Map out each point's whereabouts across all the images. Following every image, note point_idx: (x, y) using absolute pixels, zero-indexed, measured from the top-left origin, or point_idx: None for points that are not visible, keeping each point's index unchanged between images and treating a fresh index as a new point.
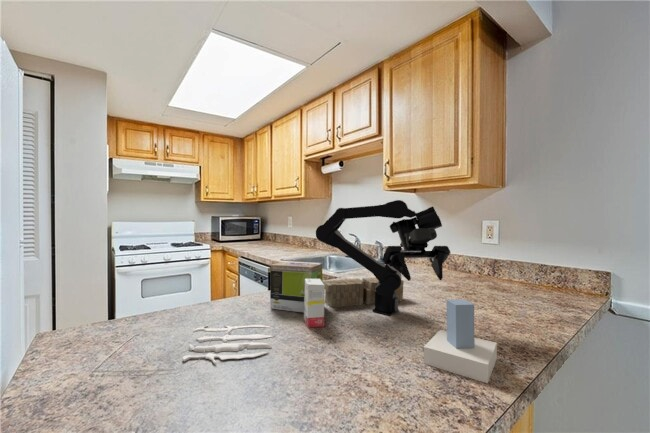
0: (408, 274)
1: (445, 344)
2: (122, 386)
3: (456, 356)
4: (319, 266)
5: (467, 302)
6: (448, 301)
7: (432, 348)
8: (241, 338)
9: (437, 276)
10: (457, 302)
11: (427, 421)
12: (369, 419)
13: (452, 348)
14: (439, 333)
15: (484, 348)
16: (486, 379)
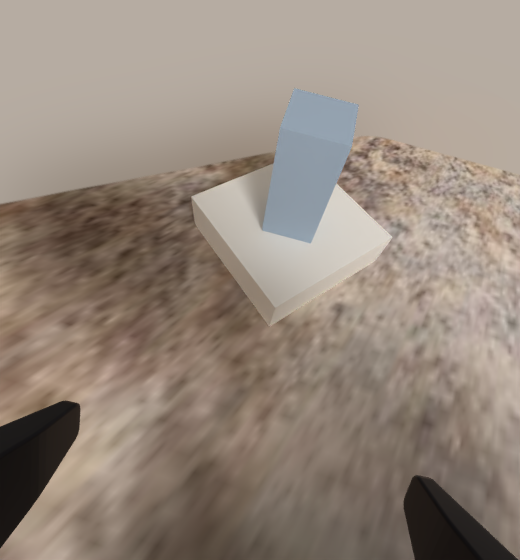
0: (459, 514)
1: (329, 229)
2: None
3: (339, 189)
4: None
5: (298, 104)
6: (352, 138)
7: (375, 224)
8: None
9: (37, 496)
10: (332, 116)
11: (438, 159)
12: (513, 182)
13: (326, 210)
14: (300, 284)
15: (250, 188)
16: None
